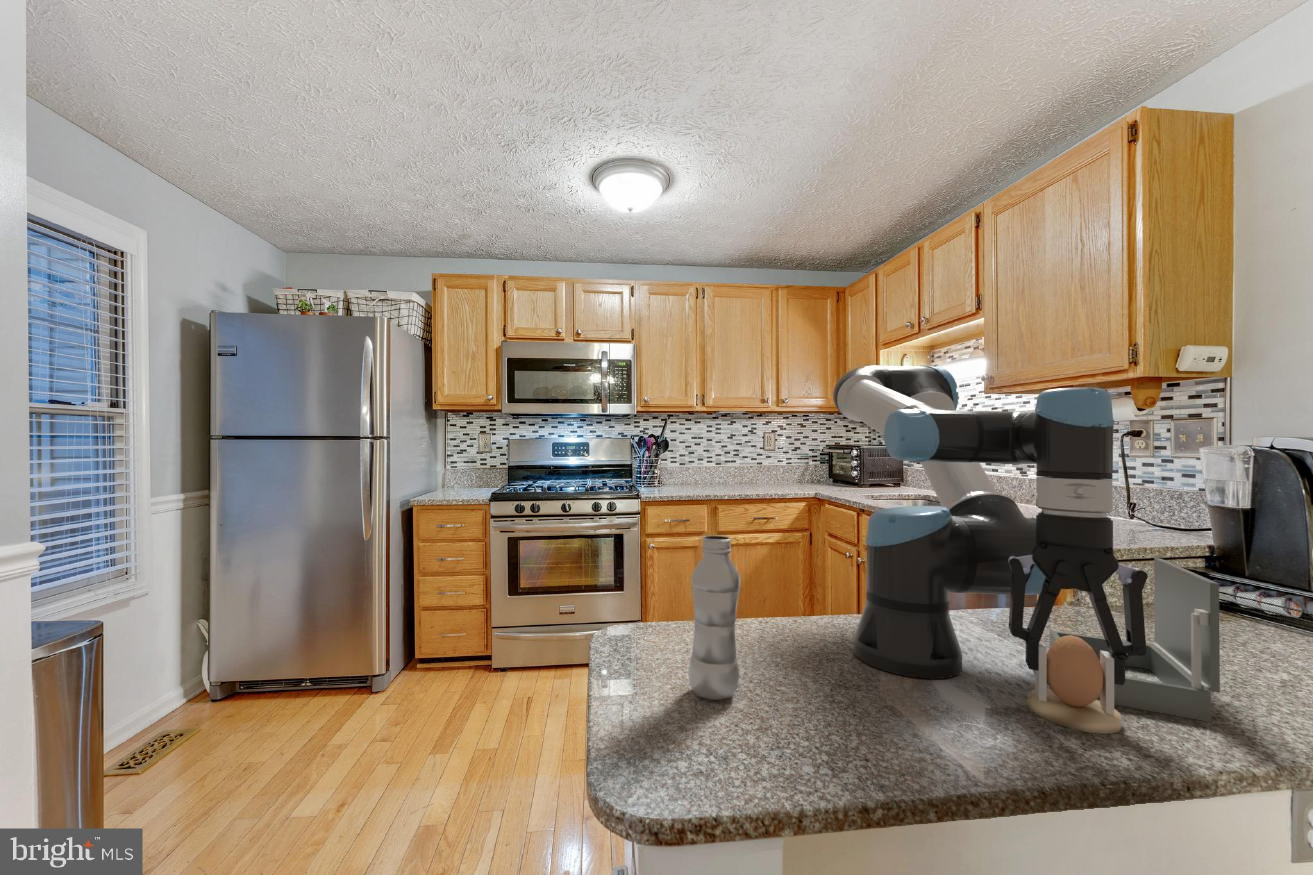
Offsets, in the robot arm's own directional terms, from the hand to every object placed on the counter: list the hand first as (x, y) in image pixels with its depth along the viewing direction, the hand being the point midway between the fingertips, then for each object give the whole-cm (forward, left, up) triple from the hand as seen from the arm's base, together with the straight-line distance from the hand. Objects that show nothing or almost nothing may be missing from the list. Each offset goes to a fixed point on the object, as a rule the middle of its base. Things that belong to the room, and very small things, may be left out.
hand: (1073, 702), depth 65 cm
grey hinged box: (+8, +16, -1) cm, 18 cm away
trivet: (0, 0, -1) cm, 1 cm away
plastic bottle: (-40, -18, -2) cm, 44 cm away
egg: (0, 0, 0) cm, 0 cm away
